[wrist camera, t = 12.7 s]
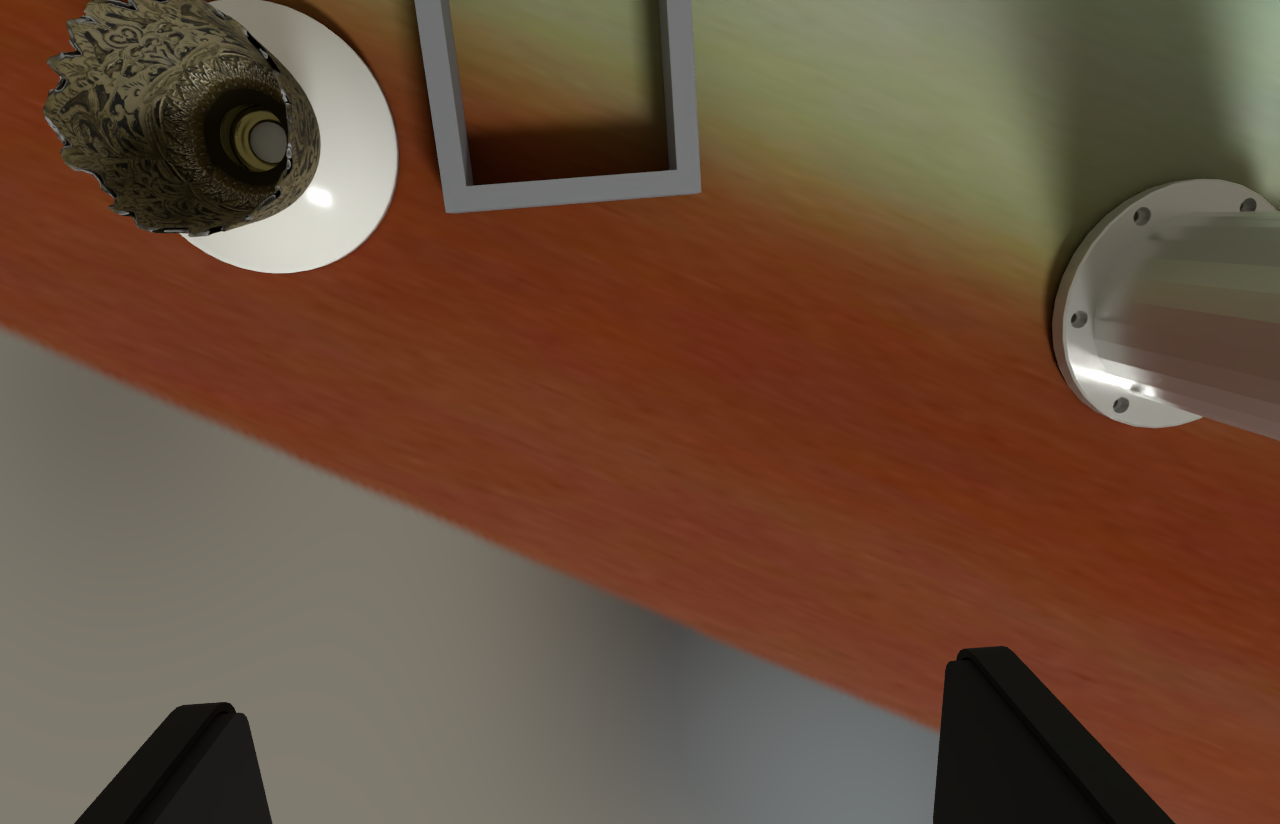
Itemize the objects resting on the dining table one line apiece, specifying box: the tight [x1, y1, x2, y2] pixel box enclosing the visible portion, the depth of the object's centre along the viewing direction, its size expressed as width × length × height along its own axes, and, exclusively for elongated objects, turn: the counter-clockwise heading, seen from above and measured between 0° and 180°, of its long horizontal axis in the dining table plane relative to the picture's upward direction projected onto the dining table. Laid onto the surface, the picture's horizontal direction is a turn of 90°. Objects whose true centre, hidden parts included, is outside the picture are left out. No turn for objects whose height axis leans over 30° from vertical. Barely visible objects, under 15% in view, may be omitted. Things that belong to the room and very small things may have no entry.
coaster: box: [180, 0, 400, 273], centre depth 30 cm, size 11×11×1 cm
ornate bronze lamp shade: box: [43, 0, 321, 237], centre depth 26 cm, size 8×7×8 cm
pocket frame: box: [414, 0, 701, 213], centre depth 30 cm, size 11×11×2 cm
